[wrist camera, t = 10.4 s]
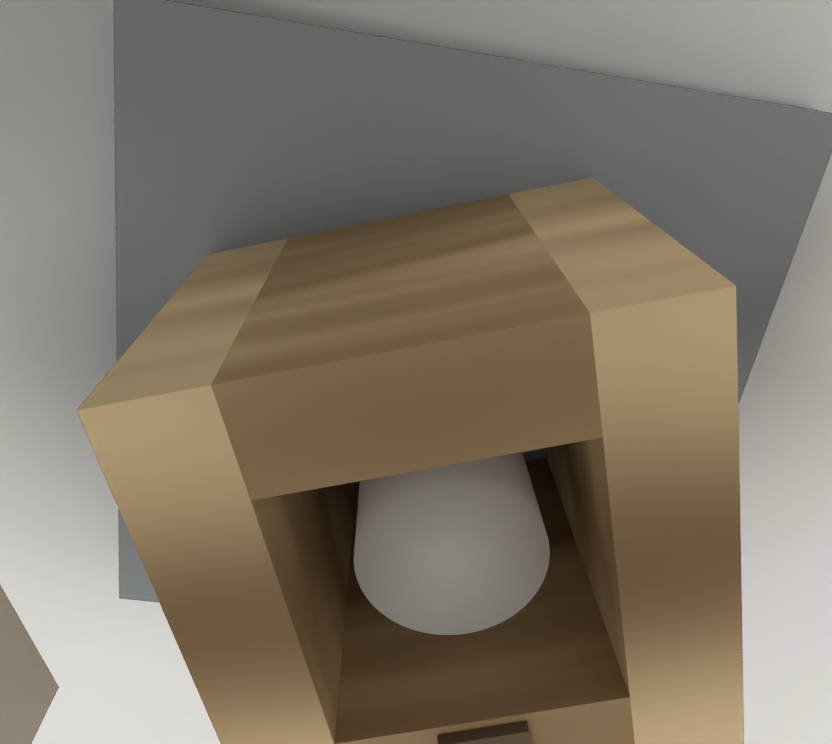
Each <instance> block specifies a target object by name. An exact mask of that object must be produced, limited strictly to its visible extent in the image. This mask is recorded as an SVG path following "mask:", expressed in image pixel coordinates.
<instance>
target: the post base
mask: <svg viewBox="0 0 832 744" xmlns="http://www.w3.org/2000/svg"><path fill="white" fill-rule="evenodd" d="M114 90H115V196H116V302H117V362H118V360H119V359H120V358H121V357H122V356H123V355H124V353H125V352H126V351H127V350H128V349H129V347H130V346H131V345H132V344H133V343H134V341H135V340H136V339H137V338H138V337H139V336H140V334H141V333H142V332H143V331H144V330H145V328H146V327H147V326H148V325H149V324H150V322H151V321H152V320H153V319H154V318H155V317H156V315H157V314H158V313H159V312H160V311H161V309H162V308H163V307H164V306H165V305H166V303H167V302H168V301H169V300H170V299H171V297H172V296H173V295H174V294H175V293H176V292H177V290H178V289H179V288H180V287H181V286H182V284H183V283H184V282H185V281H186V280H187V278H188V277H189V276H190V275H191V274H192V273H193V271H194V270H195V269H196V268H197V267H198V265H199V264H200V263H201V262H202V261H203V259H204V258H205V257H206V256H207V255H208V254H212V253H217V252H222V251H227V250H232V249H237V248H242V247H247V246H252V245H257V244H262V243H267V242H272V241H277V240H282V239H287V238H292V237H297V236H302V235H307V234H312V233H317V232H322V231H327V230H332V229H337V228H342V227H347V226H352V225H357V224H362V223H367V222H372V221H377V220H382V219H387V218H393V217H398V216H403V215H408V214H413V213H418V212H423V211H428V210H433V209H438V208H443V207H448V206H453V205H458V204H463V203H468V202H473V201H478V200H483V199H488V198H493V197H498V196H503V195H508V194H513V193H518V192H523V191H528V190H533V189H538V188H543V187H548V186H553V185H558V184H563V183H568V182H573V181H578V180H583V179H588V178H594V179H595V180H597V181H598V182H599V183H601V184H602V185H603V186H605V187H606V188H607V189H609V190H610V191H611V192H613V193H614V194H615V195H616V196H618V197H619V198H620V199H622V200H623V201H624V202H626V203H627V204H628V205H630V206H631V207H632V208H634V209H635V210H636V211H638V212H639V213H640V214H642V215H643V216H644V217H646V218H647V219H648V220H650V221H651V222H652V223H654V224H655V225H656V226H658V227H659V228H660V229H662V230H663V231H664V232H666V233H667V234H668V235H670V236H671V237H672V238H674V239H675V240H676V241H678V242H679V243H680V244H681V245H683V246H684V247H685V248H687V249H688V250H689V251H691V252H692V253H693V254H695V255H696V256H697V257H699V258H700V259H701V260H703V261H704V262H705V263H707V264H708V265H709V266H711V267H712V268H713V269H715V270H716V271H717V272H719V273H720V274H721V275H723V276H724V277H725V278H727V279H728V280H729V281H731V282H732V283H733V284H735V285H736V309H737V367H738V404H739V401H740V399H741V396H742V393H743V390H744V388H745V385H746V382H747V380H748V377H749V374H750V372H751V369H752V366H753V363H754V361H755V358H756V355H757V353H758V350H759V347H760V345H761V342H762V339H763V337H764V334H765V331H766V328H767V326H768V323H769V320H770V318H771V315H772V312H773V310H774V307H775V304H776V301H777V299H778V296H779V293H780V291H781V288H782V285H783V283H784V280H785V277H786V275H787V272H788V269H789V266H790V264H791V261H792V258H793V256H794V253H795V250H796V248H797V245H798V242H799V239H800V237H801V234H802V231H803V229H804V226H805V223H806V221H807V218H808V215H809V213H810V210H811V207H812V204H813V202H814V199H815V196H816V194H817V191H818V188H819V186H820V183H821V180H822V177H823V175H824V172H825V169H826V167H827V164H828V161H829V159H830V156H831V153H832V113H828V112H823V111H818V110H812V109H807V108H801V107H795V106H789V105H783V104H777V103H771V102H765V101H759V100H753V99H747V98H741V97H736V96H730V95H724V94H718V93H712V92H706V91H700V90H694V89H688V88H682V87H676V86H670V85H665V84H659V83H653V82H647V81H641V80H635V79H629V78H623V77H617V76H611V75H605V74H599V73H594V72H588V71H582V70H576V69H570V68H564V67H558V66H552V65H546V64H540V63H534V62H528V61H523V60H517V59H511V58H505V57H499V56H493V55H487V54H481V53H475V52H469V51H463V50H457V49H452V48H446V47H440V46H434V45H428V44H422V43H416V42H410V41H404V40H398V39H392V38H386V37H381V36H375V35H369V34H363V33H357V32H351V31H345V30H339V29H333V28H327V27H321V26H315V25H310V24H304V23H298V22H292V21H286V20H280V19H274V18H268V17H262V16H256V15H250V14H244V13H239V12H233V11H227V10H221V9H215V8H209V7H203V6H197V5H191V4H185V3H179V2H173V1H168V0H114ZM542 458H546V452H545V448H542V449H536V450H530V451H525V452H519V453H514V454H508V455H503V456H497V457H491V458H486V459H480V460H475V461H469V462H464V463H458V464H452V465H447V466H441V467H436V468H430V469H425V470H419V471H413V472H408V473H402V474H397V475H391V476H386V477H380V478H374V479H369V480H363V481H358V482H354V485H355V489H356V492H357V491H359V496H358V508H357V521H356V533H355V545H354V559H353V560H354V570H355V574H356V578H357V581H358V583H359V586H360V588H361V590H362V591H363V593H364V595H365V596H366V598H367V599H368V600H369V601H370V603H371V604H372V605H373V606H374V607H375V608H376V609H377V610H378V611H379V612H381V613H382V614H383V615H384V616H386V617H387V618H389V619H390V620H392V621H394V622H396V623H398V624H400V625H402V626H404V627H407V628H409V629H412V630H416V631H419V632H423V633H429V634H436V635H460V634H467V633H473V632H477V631H481V630H484V629H487V628H490V627H492V626H495V625H497V624H499V623H501V622H503V621H505V620H507V619H508V618H510V617H512V616H513V615H515V614H516V613H517V612H519V611H520V610H521V609H522V608H523V607H525V606H526V605H527V603H528V602H529V601H530V600H531V599H532V598H533V597H534V595H535V594H536V593H537V591H538V590H539V588H540V586H541V584H542V583H543V581H544V578H545V576H546V573H547V570H548V565H549V557H550V548H549V540H548V536H547V533H546V530H545V526H544V523H543V519H542V516H541V513H540V509H539V506H538V503H537V499H536V496H535V493H534V489H533V486H532V483H531V479H530V476H529V472H528V469H527V466H526V462H525V461H531V460H536V459H542ZM118 514H119V598H121V599H131V600H141V601H151V602H159V600H158V598H157V595H156V593H155V591H154V588H153V586H152V584H151V581H150V579H149V577H148V575H147V572H146V570H145V568H144V565H143V563H142V561H141V558H140V556H139V554H138V551H137V549H136V547H135V545H134V542H133V540H132V538H131V535H130V533H129V531H128V528H127V526H126V524H125V521H124V519H123V517H122V515H121V512H120V510H119V508H118Z"/></svg>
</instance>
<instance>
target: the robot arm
mask: <svg viewBox="0 0 832 744" xmlns="http://www.w3.org/2000/svg"><path fill="white" fill-rule="evenodd" d="M58 688H59V687H58V685H57V683H56V681H55V680H54V678H53V676H52V674H51V673H50V671H49V669H48V667H47V666H46V664H45V662H44V660H43V659H42V657H41V655H40V653H39V652H38V650H37V648H36V646H35V645H34V643H33V641H32V639H31V638H30V636H29V634H28V632H27V631H26V629H25V627H24V625H23V624H22V622H21V620H20V618H19V617H18V615H17V613H16V611H15V610H14V608H13V606H12V604H11V603H10V601H9V599H8V597H7V596H6V594H5V592H4V590H3V589H2V587H1V585H0V744H31V743H32V741H33V739H34V737H35V735H36V733H37V731H38V729H39V727H40V725H41V722H42V720H43V718H44V716H45V714H46V712H47V710H48V708H49V706H50V704H51V702H52V700H53V698H54V696H55V694H56V692H57V690H58Z"/></svg>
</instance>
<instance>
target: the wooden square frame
mask: <svg viewBox="0 0 832 744" xmlns="http://www.w3.org/2000/svg"><path fill="white" fill-rule="evenodd" d="M76 411H77V413H78V415H79V418H80V420H81V422H82V425H83V427H84V429H85V432H86V434H87V436H88V438H89V441H90V443H91V445H92V448H93V450H94V452H95V455H96V457H97V459H98V462H99V464H100V466H101V468H102V471H103V473H104V475H105V478H106V480H107V482H108V485H109V487H110V489H111V492H112V494H113V496H114V498H115V501H116V503H117V505H118V508H119V510H120V512H121V515H122V517H123V519H124V521H125V524H126V526H127V528H128V531H129V533H130V535H131V538H132V540H133V542H134V545H135V547H136V549H137V551H138V554H139V556H140V558H141V561H142V563H143V565H144V568H145V570H146V572H147V575H148V577H149V579H150V581H151V584H152V586H153V588H154V591H155V593H156V595H157V598H158V600H159V602H160V605H161V607H162V609H163V611H164V614H165V616H166V618H167V621H168V623H169V625H170V628H171V630H172V632H173V635H174V637H175V639H176V641H177V644H178V646H179V648H180V651H181V653H182V655H183V658H184V660H185V662H186V665H187V667H188V669H189V671H190V674H191V676H192V678H193V681H194V683H195V685H196V688H197V690H198V692H199V695H200V697H201V699H202V701H203V704H204V706H205V708H206V711H207V713H208V715H209V718H210V720H211V722H212V725H213V727H214V729H215V731H216V734H217V736H218V738H219V741H220V743H221V744H744V714H743V657H742V599H741V541H740V483H739V425H738V367H737V309H736V285H735V284H733V283H732V282H731V281H729V280H728V279H727V278H725V277H724V276H723V275H721V274H720V273H719V272H717V271H716V270H715V269H713V268H712V267H711V266H709V265H708V264H707V263H705V262H704V261H703V260H701V259H700V258H699V257H697V256H696V255H695V254H693V253H692V252H691V251H689V250H688V249H687V248H685V247H684V246H683V245H681V244H680V243H679V242H678V241H676V240H675V239H674V238H672V237H671V236H670V235H668V234H667V233H666V232H664V231H663V230H662V229H660V228H659V227H658V226H656V225H655V224H654V223H652V222H651V221H650V220H648V219H647V218H646V217H644V216H643V215H642V214H640V213H639V212H638V211H636V210H635V209H634V208H632V207H631V206H630V205H628V204H627V203H626V202H624V201H623V200H622V199H620V198H619V197H618V196H616V195H615V194H614V193H613V192H611V191H610V190H609V189H607V188H606V187H605V186H603V185H602V184H601V183H599V182H598V181H597V180H595V179H594V178H588V179H583V180H578V181H573V182H568V183H563V184H558V185H553V186H548V187H543V188H538V189H533V190H528V191H523V192H518V193H513V194H508V195H503V196H498V197H493V198H488V199H483V200H478V201H473V202H468V203H463V204H458V205H453V206H448V207H443V208H438V209H433V210H428V211H423V212H418V213H413V214H408V215H403V216H398V217H393V218H387V219H382V220H377V221H372V222H367V223H362V224H357V225H352V226H347V227H342V228H337V229H332V230H327V231H322V232H317V233H312V234H307V235H302V236H297V237H292V238H287V239H282V240H277V241H272V242H267V243H262V244H257V245H252V246H247V247H242V248H237V249H232V250H227V251H222V252H217V253H212V254H208V255H207V256H206V257H205V258H204V259H203V261H202V262H201V263H200V264H199V265H198V267H197V268H196V269H195V270H194V271H193V273H192V274H191V275H190V276H189V277H188V278H187V280H186V281H185V282H184V283H183V284H182V286H181V287H180V288H179V289H178V290H177V292H176V293H175V294H174V295H173V296H172V297H171V299H170V300H169V301H168V302H167V303H166V305H165V306H164V307H163V308H162V309H161V311H160V312H159V313H158V314H157V315H156V317H155V318H154V319H153V320H152V321H151V322H150V324H149V325H148V326H147V327H146V328H145V330H144V331H143V332H142V333H141V334H140V336H139V337H138V338H137V339H136V340H135V341H134V343H133V344H132V345H131V346H130V347H129V349H128V350H127V351H126V352H125V353H124V355H123V356H122V357H121V358H120V359H119V360H118V362H117V363H116V364H115V365H114V366H113V368H112V369H111V370H110V371H109V372H108V374H107V375H106V376H105V377H104V378H103V380H102V381H101V382H100V383H99V384H98V385H97V387H96V388H95V389H94V390H93V391H92V393H91V394H90V395H89V396H88V397H87V399H86V400H85V401H84V402H83V403H82V404H81V406H80V407H79V408H78V409H77V410H76ZM542 448H545V452H546V458H542V459H536V460H531V461H525V462H526V466H527V469H528V472H529V476H530V479H531V483H532V486H533V489H534V493H535V496H536V499H537V503H538V506H539V509H540V513H541V516H542V519H543V523H544V526H545V530H546V533H547V536H548V540H549V548H550V557H549V565H548V570H547V573H546V576H545V578H544V581H543V583H542V584H541V586H540V588H539V590H538V591H537V593H536V594H535V595H534V597H533V598H532V599H531V600H530V601H529V602H528V603H527V605H526V606H525V607H523V608H522V609H521V610H520V611H519V612H517V613H516V614H515V615H513V616H512V617H510V618H508V619H507V620H505V621H503V622H501V623H499V624H497V625H495V626H492V627H490V628H487V629H484V630H481V631H477V632H473V633H467V634H460V635H436V634H429V633H423V632H419V631H416V630H412V629H409V628H407V627H404V626H402V625H400V624H398V623H396V622H394V621H392V620H390V619H389V618H387V617H386V616H384V615H383V614H382V613H381V612H379V611H378V610H377V609H376V608H375V607H374V606H373V605H372V604H371V603H370V601H369V600H368V599H367V598H366V596H365V595H364V593H363V591H362V590H361V588H360V586H359V583H358V581H357V578H356V574H355V570H354V560H353V559H354V545H355V533H356V521H357V508H358V496H359V491H357V492H356V489H355V485H354V482H358V481H363V480H369V479H374V478H380V477H386V476H391V475H397V474H402V473H408V472H413V471H419V470H425V469H430V468H436V467H441V466H447V465H452V464H458V463H464V462H469V461H475V460H480V459H486V458H491V457H497V456H503V455H508V454H514V453H519V452H525V451H530V450H536V449H542Z"/></svg>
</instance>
